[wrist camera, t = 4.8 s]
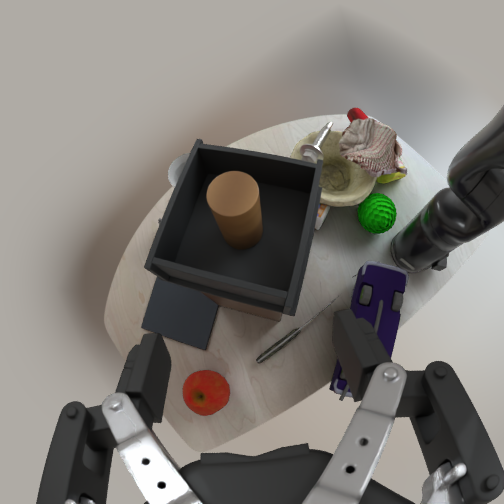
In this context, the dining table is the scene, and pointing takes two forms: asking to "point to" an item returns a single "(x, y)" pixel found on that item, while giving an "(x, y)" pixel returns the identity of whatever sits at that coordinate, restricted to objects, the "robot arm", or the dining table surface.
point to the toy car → (375, 309)
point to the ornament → (377, 213)
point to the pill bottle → (321, 215)
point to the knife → (284, 340)
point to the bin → (226, 257)
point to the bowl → (338, 173)
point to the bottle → (358, 114)
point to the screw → (315, 146)
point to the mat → (180, 314)
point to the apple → (206, 392)
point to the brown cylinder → (236, 208)
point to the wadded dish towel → (372, 147)
